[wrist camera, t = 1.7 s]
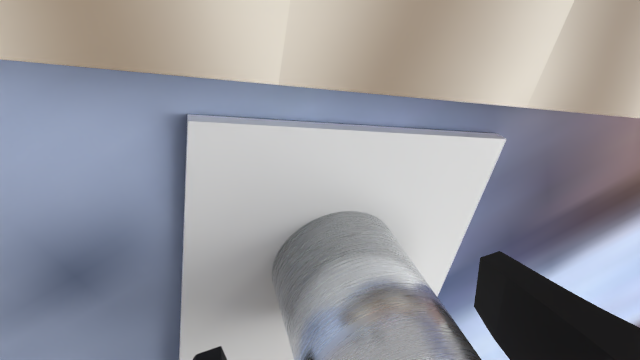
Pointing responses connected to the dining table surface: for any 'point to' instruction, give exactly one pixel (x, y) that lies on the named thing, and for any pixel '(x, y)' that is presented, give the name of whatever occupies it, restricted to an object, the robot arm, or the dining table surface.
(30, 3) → the hole plate
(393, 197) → the tab
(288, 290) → the knob
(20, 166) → the dining table surface
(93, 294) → the dining table surface
